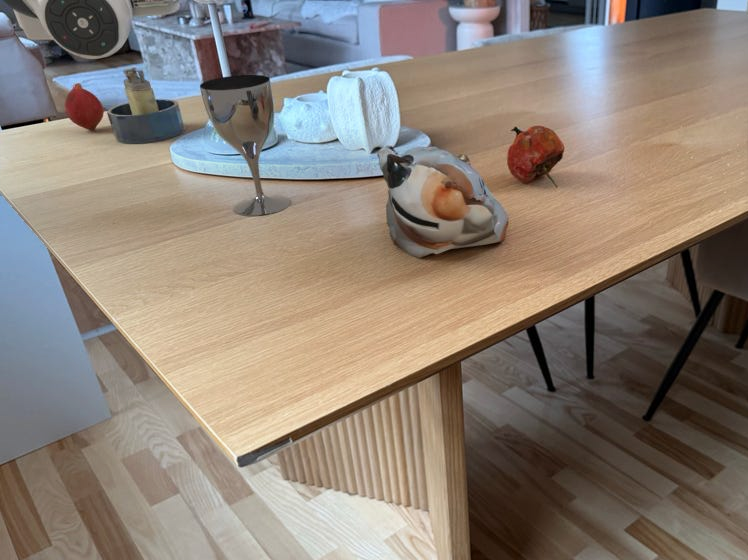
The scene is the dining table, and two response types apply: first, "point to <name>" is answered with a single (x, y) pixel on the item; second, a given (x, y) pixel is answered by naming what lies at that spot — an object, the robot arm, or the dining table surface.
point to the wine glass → (245, 129)
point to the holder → (146, 123)
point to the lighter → (139, 92)
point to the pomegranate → (534, 153)
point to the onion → (83, 108)
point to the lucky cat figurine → (438, 202)
